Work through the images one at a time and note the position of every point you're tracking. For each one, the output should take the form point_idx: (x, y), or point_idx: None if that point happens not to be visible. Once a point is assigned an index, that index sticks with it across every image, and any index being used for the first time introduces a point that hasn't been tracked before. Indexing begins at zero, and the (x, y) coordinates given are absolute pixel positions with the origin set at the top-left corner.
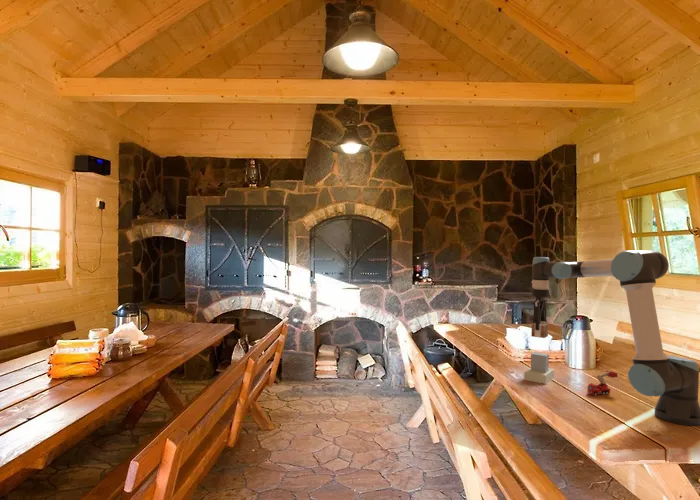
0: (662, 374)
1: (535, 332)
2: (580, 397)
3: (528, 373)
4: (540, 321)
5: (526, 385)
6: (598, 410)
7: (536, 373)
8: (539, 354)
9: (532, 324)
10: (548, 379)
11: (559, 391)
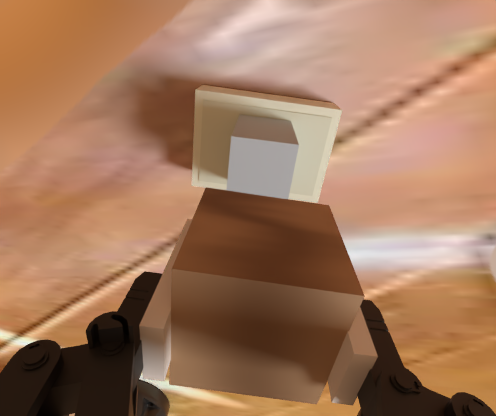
0: None
1: (177, 248)
2: (127, 268)
3: (195, 109)
4: (345, 368)
5: (129, 108)
6: (56, 302)
7: (199, 146)
8: (244, 183)
9: (172, 276)
10: None
11: (142, 218)
